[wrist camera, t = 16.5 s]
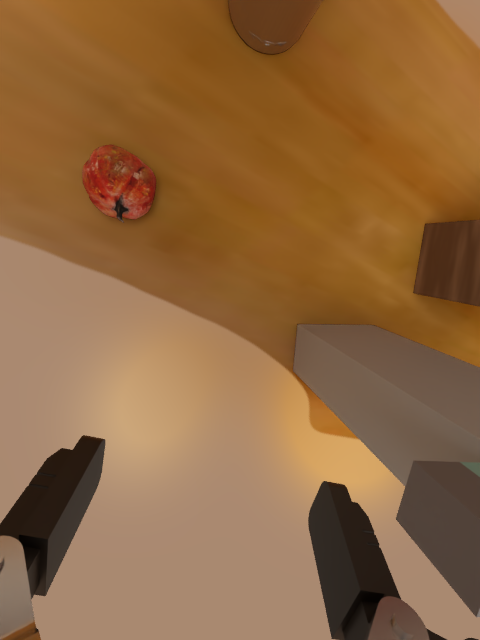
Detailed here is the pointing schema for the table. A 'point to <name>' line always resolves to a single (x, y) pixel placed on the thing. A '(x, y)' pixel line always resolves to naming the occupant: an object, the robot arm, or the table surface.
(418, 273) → the walnut stand
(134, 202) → the pomegranate
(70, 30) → the table surface
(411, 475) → the teal bar
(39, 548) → the robot arm
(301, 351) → the grey stand
